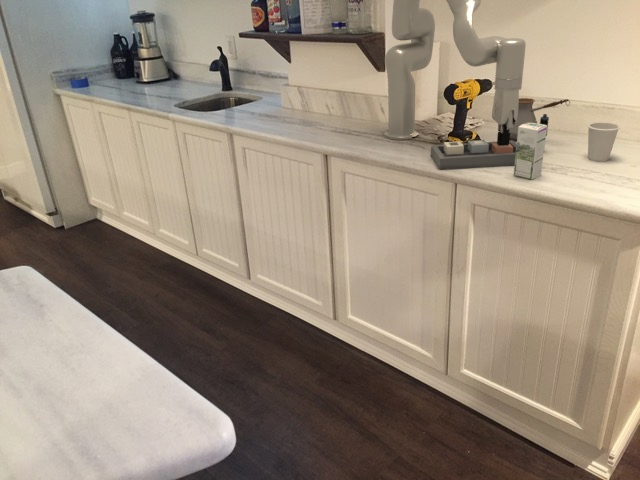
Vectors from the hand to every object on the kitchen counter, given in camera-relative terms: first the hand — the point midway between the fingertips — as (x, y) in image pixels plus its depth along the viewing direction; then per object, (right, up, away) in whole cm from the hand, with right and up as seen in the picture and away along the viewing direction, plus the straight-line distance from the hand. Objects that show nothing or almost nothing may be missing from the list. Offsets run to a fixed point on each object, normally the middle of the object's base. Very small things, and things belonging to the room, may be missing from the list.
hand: (502, 144), depth 165 cm
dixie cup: (+28, -5, -3) cm, 28 cm away
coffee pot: (+16, +4, +17) cm, 24 cm away
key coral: (0, -2, +1) cm, 3 cm away
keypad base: (-7, -4, +2) cm, 9 cm away
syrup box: (+3, -11, -12) cm, 17 cm away
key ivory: (-15, -2, +1) cm, 15 cm away
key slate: (-7, -2, +1) cm, 8 cm away
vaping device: (+13, -1, +6) cm, 14 cm away
